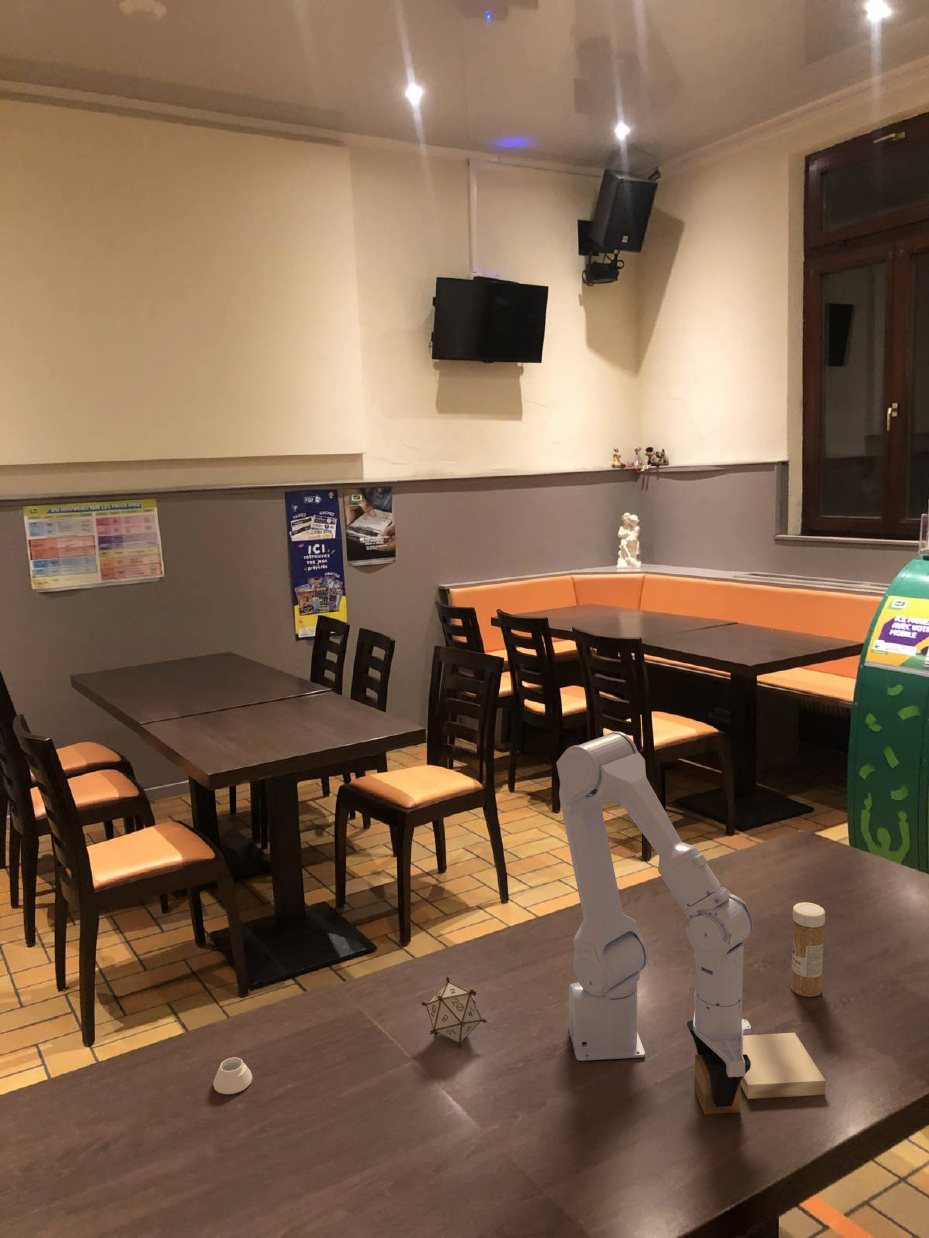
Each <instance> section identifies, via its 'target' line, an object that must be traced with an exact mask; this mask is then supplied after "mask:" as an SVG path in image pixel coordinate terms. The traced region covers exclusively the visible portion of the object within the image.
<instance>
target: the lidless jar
mask: <svg viewBox="0 0 929 1238" xmlns="http://www.w3.org/2000/svg"><path fill="white" fill-rule="evenodd" d="M252 1081H253V1074H252V1071H251V1070H250V1069H249V1067H248V1066H247V1065H246V1063H244V1061H243V1060H242V1058H239V1057H235V1056H233V1057H229V1058H226V1059H225V1060H223V1061H222V1062H221V1063H220V1065H219V1068H218V1070H217V1072H216V1074H215V1076H214V1079H213V1082H212V1083H213V1084H212V1085H213V1088H214V1090H215V1091H216V1092H217V1093H219V1094H223V1095H234V1094H237V1093H239V1092H242V1091H244V1090H246V1088H248V1087H249V1085H250V1084H251V1083H252Z"/></svg>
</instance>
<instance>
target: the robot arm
mask: <svg viewBox="0 0 929 1238" xmlns="http://www.w3.org/2000/svg"><path fill="white" fill-rule="evenodd" d="M556 768H557V773H558V779H559V792H558V795H559V796H558V797H559V802H560V803H559V804H560V807H561V813H562V817H563V822H564V827H565V832H566V838H567V841H568V847H569V848H568V849H569V852H570V857H571V862H572V863H571V864H572V868H573V873H574V877H575V882H576V887H577V892H578V897H579V901H580V902H579V903H580V907H581V911H582V918H583V921H582V922H581V925H580V926H579V928H578V930H577V932H576V934H575V936H574V938H573V940H572V944H573V948H574V957H573V961H572V966H573V969H572V970H573V972H574V976H575V978H576V980H577V982H574V983H569V985H568V1033H569V1037H570V1040H571V1043H572V1046H573V1051H574V1055H575V1059H576V1060H577V1061H581V1062H582V1061H583V1062H584V1061H598V1060H599V1061H601V1060H617V1059H620V1060H621V1059H631V1058H632V1059H637V1058H644V1057H645V1056H646V1051H645V1049H644V1046H643V1044H642V1041H641V1038H640V1035H639V1033H638V981H639V980H640V977H641V976H640V972H641V971H642V970H644V969H645V968H646V967H647V965H648V962H649V952H648V947H647V945H646V943H645V941H644V939H643V937H642V936H641V934H640V931H639V928H638V923H637V921H636V920H635V919H634V918H632V917H630V916H628V915H626V914H625V913H624V912H623V908H622V903H621V898H620V892H619V887H618V882H617V878H616V872H615V867H614V863H613V856H612V852H611V848H610V847H611V846H610V844H609V842H610V841H609V838H608V837H609V836H608V834H607V833H608V832H607V827H606V824H605V823H606V822H605V818H604V812H603V808H602V802H606V803H607V802H608V803H612V804H617V805H621V806H622V807H623V809H624V810H625V811H626V813H627V814H628V816H630V817H631V819H632V820H633V822H634V824H635V825H636V826H637V828H638V829H639V830H640V832H641V833H642V834H643V836H644V837H645V839H646V840H647V841H648V842H649V844H650V846H651V847H652V848H653V850H654V851H655V853H657V855H658V866H657V870H658V874H659V875H660V876H661V878H662V880H663V882H664V883H665V884H666V886H667V888H668V889H669V890H670V892H671V894H672V895H673V897H674V899H675V900H676V902H677V904H678V905H679V907H680V908H681V909H682V911H683V913H684V915H685V916H686V918H687V919H688V921H689V924H687V925H685V933H686V935H687V939H688V940H689V943H690V944H691V946H692V949H693V959H694V960H695V967H694V968H695V973H694V974H695V976H694V977H695V979H694V981H695V982H694V983H695V986H694V987H695V988H694V989H695V990H694V993H693V1007H694V1012H693V1013H694V1014H693V1019H691V1020H688V1021H687V1022H686V1026H687V1028H688V1030H689V1032H690V1034H691V1036H692V1039H693V1042H694V1046H695V1048H696V1053H697V1054H696V1055H701V1057H702V1059H703V1061H704V1063H705V1065H706V1067H707V1069H708V1072H709V1076H710V1081H711V1089H712V1096H713V1100H714V1103H715V1105H716V1107H726V1106H732V1104H733V1101H734V1098H735V1095H736V1092H737V1089H738V1086H739V1084H740V1082H741V1080H742V1078H743V1077H744V1076H745V1074H746V1073H747V1072H748V1071H749V1070H750V1067H751V1061H750V1059H749V1058H748V1056H747V1054H744V1055H743V1035H745V1034H746V1035H747V1034H750V1033H752V1026H751V1024H750V1022H749V1021H748V1020H747V1019H744V1018H743V990H744V989H743V988H744V987H743V986H744V985H743V983H744V952H745V951H744V949H745V948H744V947H745V945H744V943H743V941H745V940H746V939H747V938H748V937H749V936H750V935H751V933H752V932H753V929H754V920H753V919H754V918H753V916H752V914H751V911H750V910H749V908H748V905H747V903H746V902H745V901H744V900H742V898H740V897H739V896H736V895H735V894H732V893H731V892H730V890H728V888H725V886H722V884H721V883H720V881H719V880H718V878H717V877H716V876H715V874H714V873H713V871H712V868H710V866H709V865H708V863H709V861H708V860H707V858H706V857H705V855H704V854H703V853H701V852H700V851H699V849H698V848H697V847H696V846H694V845H692V844H688V843H686V842H683V841H682V839H681V838H680V835H679V834H678V832H677V830H676V829H675V826H674V825H673V823H672V822H671V819H670V818H669V816H668V813H666V811H665V809H664V807H663V805H662V803H661V801H660V800H659V798H658V797H657V794H656V793H655V791H654V789H653V787H652V786H651V783H650V782H649V780H648V778H647V773H646V772H647V771H646V760H645V758H644V757H643V756H642V754H641V753H640V752H639V751H638V748H637V746H636V743H635V742H634V741H633V739H632V738H631V737H630V736H629V735H628V734H626V733H624V732H622V731H612V732H609V733H608V734H606V735H604V736H601V737H598V738H594V739H591V740H589V741H586V742H584V743H581V744H578V745H572V746H569V747H568V748H566V749H565V751H564V752H563V754H561V756H560V757H559V758H558V760H557V761H556Z"/></svg>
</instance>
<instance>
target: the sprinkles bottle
mask: <svg viewBox="0 0 929 1238" xmlns="http://www.w3.org/2000/svg"><path fill="white" fill-rule="evenodd" d="M792 919H793V921H792V922H793V936H792V937H793V939H792V951H791V952H792V954H791V955H792V957H791V982H790V989H791V990H792V992H793V993H795V994H797V995H798V996H801V997H805V998H806V997H808V998H811V997H814V998H815V997H817V996H820V995H821V993H822V973H823V959H824V958H823V957H824V955H823V954H824V925H825V922H826V910H825V909H824V908H823V907H822V906H820V905H819V904H816V903H812V902H804V901H802V902H798V903H796V904H795V905H793V907H792Z"/></svg>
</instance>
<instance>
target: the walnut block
mask: <svg viewBox="0 0 929 1238" xmlns="http://www.w3.org/2000/svg"><path fill="white" fill-rule="evenodd" d="M693 1081H694V1083H693V1084H694V1085H693V1087H694V1093H695V1095H696V1096H697V1100H698V1102H699V1104H700V1107H701V1109H702V1111H703V1113H704V1115H713V1114H731V1113H735V1114H736V1113H741V1095H742V1093H741V1088H742V1087H741V1082H740V1084H739V1086H738V1089H737V1092H736V1095H735V1098H734V1101H733V1104H732V1106H726V1107H716V1105H715V1103H714V1100H713V1096H712V1089H711V1081H710V1076H709V1072H708V1069H707V1067H706V1065H705V1063H704V1061H703V1059H702V1057H701V1055H698V1054H696V1055H694V1080H693Z"/></svg>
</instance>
